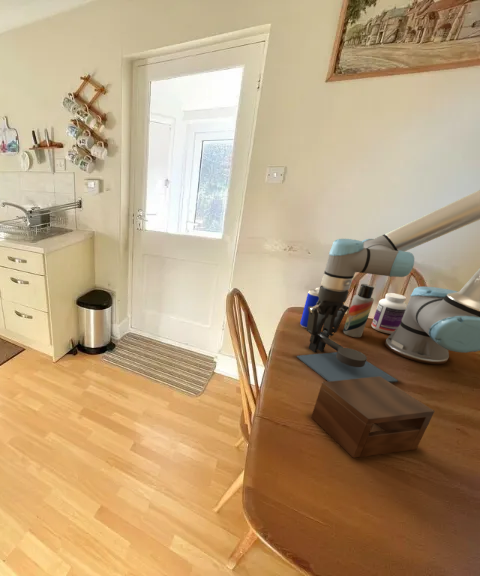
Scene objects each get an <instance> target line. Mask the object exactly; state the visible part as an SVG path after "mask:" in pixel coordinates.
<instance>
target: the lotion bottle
mask: <svg viewBox="0 0 480 576" xmlns="http://www.w3.org/2000/svg"><path fill="white" fill-rule="evenodd" d="M374 290H375V286H373V285H370V284H367V283H361V284H360V286H359V289H358V291H357V292H358V293H357V294H355V295H353V297H352V301H351V304H350V306H349V309H348V313H347V317H346V320H345V323H344V327H343V330H342V333H343V334H344V335H346V336H349V337H352V338H361V337H362V336H363V333H364V330H365V328H366V325H367V322H368V319H369V315H370V312H371V310H372V307H373V304H374V301H375V299H374V298H373V297H372V296H373V293H374Z"/></svg>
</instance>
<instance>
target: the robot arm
mask: <svg viewBox="0 0 480 576" xmlns="http://www.w3.org/2000/svg"><path fill="white" fill-rule="evenodd" d="M478 221H480V189H479V190H476V191H474V192H472V193H470V194H467V195H466V196H463V197H461V198H460V199H458V200H455V201H453V202H451V203H449V204H446V205H444V206H442V207H439V208H438V209H435V210H433V211H431V212H430V213H427V214H425V215H423V216H421V217H419V218H416V219H415V220H412V221H410V222H407V223H406V224H404V225H402V226H399V227H397V228H395V229H393V230H391V231H389V232H386V233H385V234H382V235H379V236H377V237H375V238H366V239H363V240H360V239H359V240H358V239H353V238H338V239H335V240H334V241H332V245H331V248H330V250H329V252H328V257H327V261H326V264H325V269H324V272H323V275H322V279H321V281H320V286H319V288H320V289H319V292H318V297H319V300H318V302H317V303H316V305H315V306H313V307H311V306H309V307H308V311H309V316H308V323H307V328H306V332H308V333H309V334H310V333H311V334H310V338H309V345H308V350H310V351H311V352H313V354H316V353H317V352H318V351H320V352H321V353H325V352H324V351H325V348H326V345H327V344H325V343H324V342H322V341H321V340H320V339H321V336H320V333H321V334H323V335H324V336H326V337H328V338H329V339H330V337H333V336H334V334H336V333H338V330H339V328H340V325H341V324H342V322H343V319H344V317H345V315H346V313H347V312H348V311H349V310H350V306H348V305H345V304H344V303H345V302H346V301H347V300H348V299H347V298H348V297H349V292H350V291H349V290H350V288H351V285H352V282H353V279H354V276H355V274H356V273H359V274H367V275H368V274H369V275H376V276H386V277H389V278H393V277H395V278H405V277H407V276H408V275H409V274H411V272H412V270H413V268H414V265H415V256H414V254H413V253H412V252H410V251H409V250H412V249H415V248H416V247H419V246H421V245H423V244H425V243H428V242H431V241H433V240H435V239H438V238H440V237H442V236H443V237H444V236H445V235H447V234H449V233H452V232H455V231H457V230H459V229H462V228H463V227H465V226H468V225H471V224H473V223H475V222H478ZM384 345H385V347H386V348H387V349H388V350H390V351H391V352H392V353H394V354H396V355H398V356H400V357H402V358H406V359H408V360H411V361H414V362H418V363H422V364H427V365H444V364H446V363H447V362H448V360H449V357H450V352H449V351H451V352H454V353H462V354H463V353H466V354H467V353H476V352H480V267H479V268H478V269H477V270H476V271H475V273H474V274H473V275H472V276H471V277H470V278H469V280H468V281H467V282H466V283H465V284H463V287H461V289H460V290H453V289H448V288H442V287H434V286H416V287H415V288H414V289H413V291H412V292H411V294H410V297H409V299H408V302H407V307H406V310H405V313H404V315H403V318H402V321H401V323H400V326H399V327H398V328H397V329H396V330H395V331H394V332H393V333H392V334H389V335H388V337H387V338H386V340H385V342H384Z"/></svg>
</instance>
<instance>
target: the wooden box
mask: <svg viewBox="0 0 480 576" xmlns="http://www.w3.org/2000/svg"><path fill="white" fill-rule="evenodd" d="M435 412H436V411H435V409H432V408H431V407H429V406H427V404H424V403H423V402H421V401H419V400H418V398H417V399H416V398H415V397H413V396H412V395H411V394H409V393H407V392H406V391H404V390H403V389H400V388H399V387H398V386H397V385H394V384H393V383H390V382H388V381H387V380H385V379H383V378H382V377H380V376H378V377H368V378H359V379H349V380H340V381H330V382H328V381H323V382H321V384H320V388H319V391H318V395H317V397H316V400H315V404H314V406H313V411H312V413H311V417H310V418H311V419H312V420H313V421H314V422H315V423H316V424H317V425H318V426H319V427H320V428H322V430H323V431H325V432H326V433H327V434H328V436H330V437H331V438H332V439H333V440H334V441H335V442H336V443H337V444H338V445H339V446H340V447H341V448H342V449H343V450H344V451H345V452H346V453H347V454H348V455H349V456H350V457H352V458H353V459H355V458H362V457H363V458H364V457H369V456H377V455H385V454H392V453H393V454H394V453H398V452H399V453H401V452H406V451H414V450H417V448H418V447H419V444H420V442H421V440H422V438H423V436H424V435H425V432H426V431H427V428H428V426H429V424H430V422H431V420H432V418H433V416H434V413H435ZM374 424H376V425H377V426H379V427H380V428H381V429H382V430H378V431H372V427H373V425H374Z"/></svg>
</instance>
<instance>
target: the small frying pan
mask: <svg viewBox="0 0 480 576" xmlns="http://www.w3.org/2000/svg"><path fill="white" fill-rule="evenodd" d="M309 334H310V335H311V333H309ZM320 336H321V339H320V340H321V341H322V342H324V343H325V344H326V345H327V346H328V347H330V348H332V349H333V350H335V351H336V352H337V355H336V358H337V359H338V360H339V361H340V362H342V363H344V364H346V365H349V366H353V367H363V366H364V365H365V362H366V361H367V360H368V358H367V355H365V353H362V352H361V351H359V350H357V349H353V348H349V347H344V346H342V345H340V344H339V343H338V342H335V341H334V340H332V339H331V338H330V337H329V338H328V337H326V336H324V335H323V334H321V333H320Z"/></svg>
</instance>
